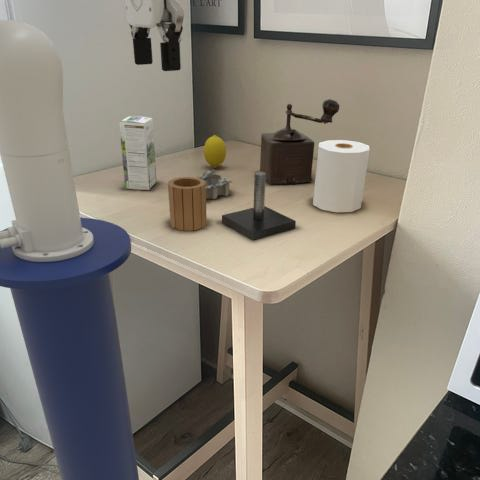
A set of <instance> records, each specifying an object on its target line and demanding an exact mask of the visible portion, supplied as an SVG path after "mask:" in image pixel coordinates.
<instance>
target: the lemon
mask: <svg viewBox="0 0 480 480" xmlns="http://www.w3.org/2000/svg"><path fill="white" fill-rule="evenodd" d="M226 156H227V148H226V144H225V141H224V140H223V139H222V138H221V137H219V136H218V135H216V134H213V135H212V136H210V137H208V138H207V139H206V141H205V143H204V146H203V157H204V160H205V162H206V163H207V164H209V165H210V166H211V167H212V168H213V169H216V168H218V167H219V166H220V165H222V164H223V163H224V161H225V160H226Z"/></svg>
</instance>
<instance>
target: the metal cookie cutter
mask: <svg viewBox="0 0 480 480" xmlns="http://www.w3.org/2000/svg"><path fill="white" fill-rule="evenodd" d="M196 178H201V179H203V180H205V182H206V200H207V199H212V200H216V199H218V196H224V197H227V196H229V194H230V184H231V183H232V184H233V181H231V179H228V180H227V178H226V177H225V178H223V179H222V176H221V174H220V173H218V172H216V171H215V169H209V170H207V171H204V172H202V175H200V176H196Z"/></svg>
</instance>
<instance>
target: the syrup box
mask: <svg viewBox="0 0 480 480" xmlns="http://www.w3.org/2000/svg"><path fill="white" fill-rule="evenodd" d="M119 136H120V146H121V147H120V148H121V156H122V157H121V158H122V167H123V178H124V188H125V189H126V190H136V191H137V190H139V191H150V190H151V189H152V188H153V187H154V186H155V185H156V183H157V170H156V169H157V167H156V166H157V165H156V151H155V134H154V119H153V118H152V117H148V116H142V115H130V116H126V117H125V118H123V119H122V120H120V121H119Z"/></svg>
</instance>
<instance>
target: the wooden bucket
mask: <svg viewBox="0 0 480 480" xmlns="http://www.w3.org/2000/svg"><path fill="white" fill-rule="evenodd" d="M196 177H197V176H196ZM196 177H195V176H179V177H174V178H172V179H170V180H168V182H167V189H168V191H167V192H168V204H169V205H168V207H169V208H168V209H169V220H170V222H169V223H170V227H171V228H173V229H175V230H178V231H183V232H184V231H185V232H187V231H188V232H191V231H197V230H202V229H203V228H205V227H206V226H207V225H208V224H207V223H208V221H207V199H206V182H205V180H203V179H201V178H196Z"/></svg>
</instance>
